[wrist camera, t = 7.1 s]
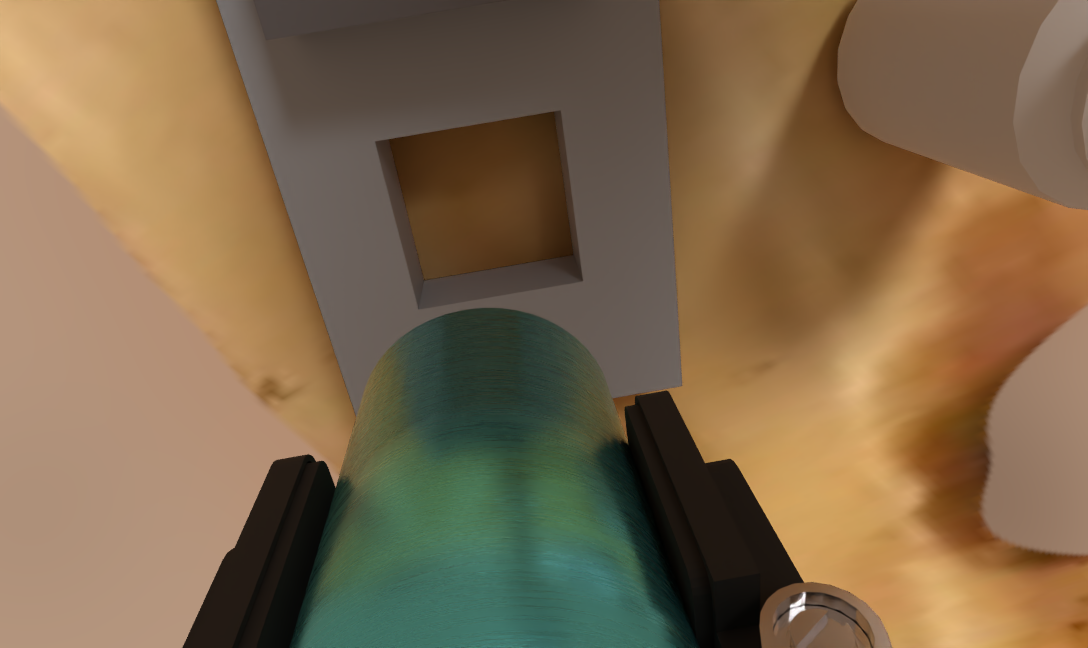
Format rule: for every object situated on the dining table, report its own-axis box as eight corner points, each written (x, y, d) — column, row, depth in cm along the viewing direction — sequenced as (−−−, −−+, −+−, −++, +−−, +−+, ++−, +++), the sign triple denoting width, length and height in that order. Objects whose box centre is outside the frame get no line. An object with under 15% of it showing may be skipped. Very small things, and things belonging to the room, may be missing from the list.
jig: (195, -161, 21) (98, -215, 16) (622, -230, 21) (671, -306, 16) (374, 403, 31) (352, 487, 26) (664, 352, 31) (703, 426, 26)
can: (871, 177, 28) (1110, 286, 18) (793, 25, 25) (1024, 46, 15) (1035, 63, 27) (1407, 106, 16) (973, -113, 24) (1379, -203, 13)
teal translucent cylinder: (329, 333, 12) (14, 1029, 4) (597, 286, 12) (850, 869, 4) (395, 536, 14) (287, 1251, 6) (622, 495, 14) (818, 1147, 6)
